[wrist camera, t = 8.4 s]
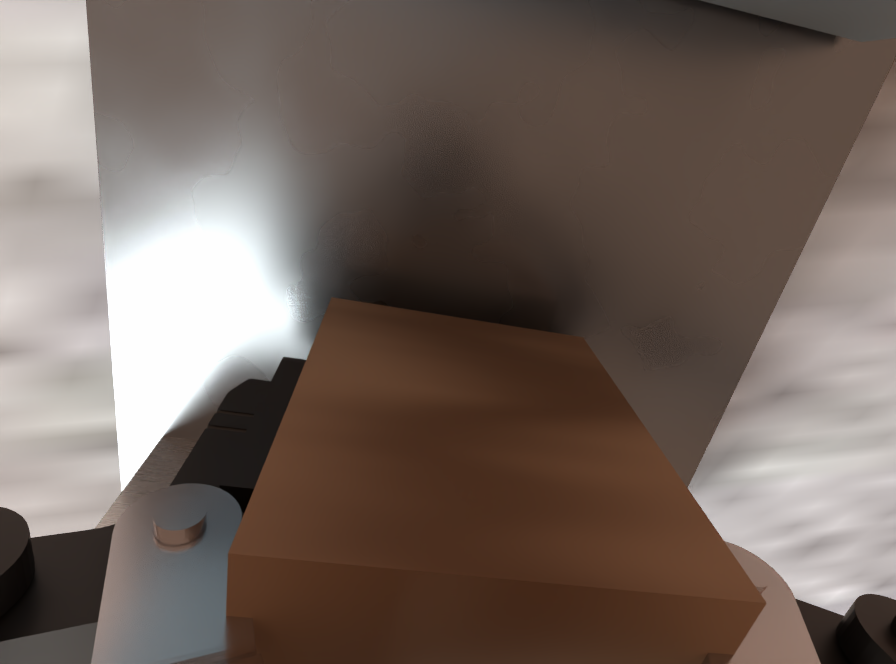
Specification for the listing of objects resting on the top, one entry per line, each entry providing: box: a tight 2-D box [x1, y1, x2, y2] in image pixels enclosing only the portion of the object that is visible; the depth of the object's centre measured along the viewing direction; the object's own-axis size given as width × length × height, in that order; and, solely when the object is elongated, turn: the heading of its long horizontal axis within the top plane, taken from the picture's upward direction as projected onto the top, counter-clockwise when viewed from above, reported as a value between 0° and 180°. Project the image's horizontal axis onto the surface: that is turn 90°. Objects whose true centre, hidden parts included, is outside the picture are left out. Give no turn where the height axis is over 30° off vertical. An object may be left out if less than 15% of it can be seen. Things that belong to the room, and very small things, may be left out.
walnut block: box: [226, 297, 767, 664], centre depth 8 cm, size 5×4×6 cm
